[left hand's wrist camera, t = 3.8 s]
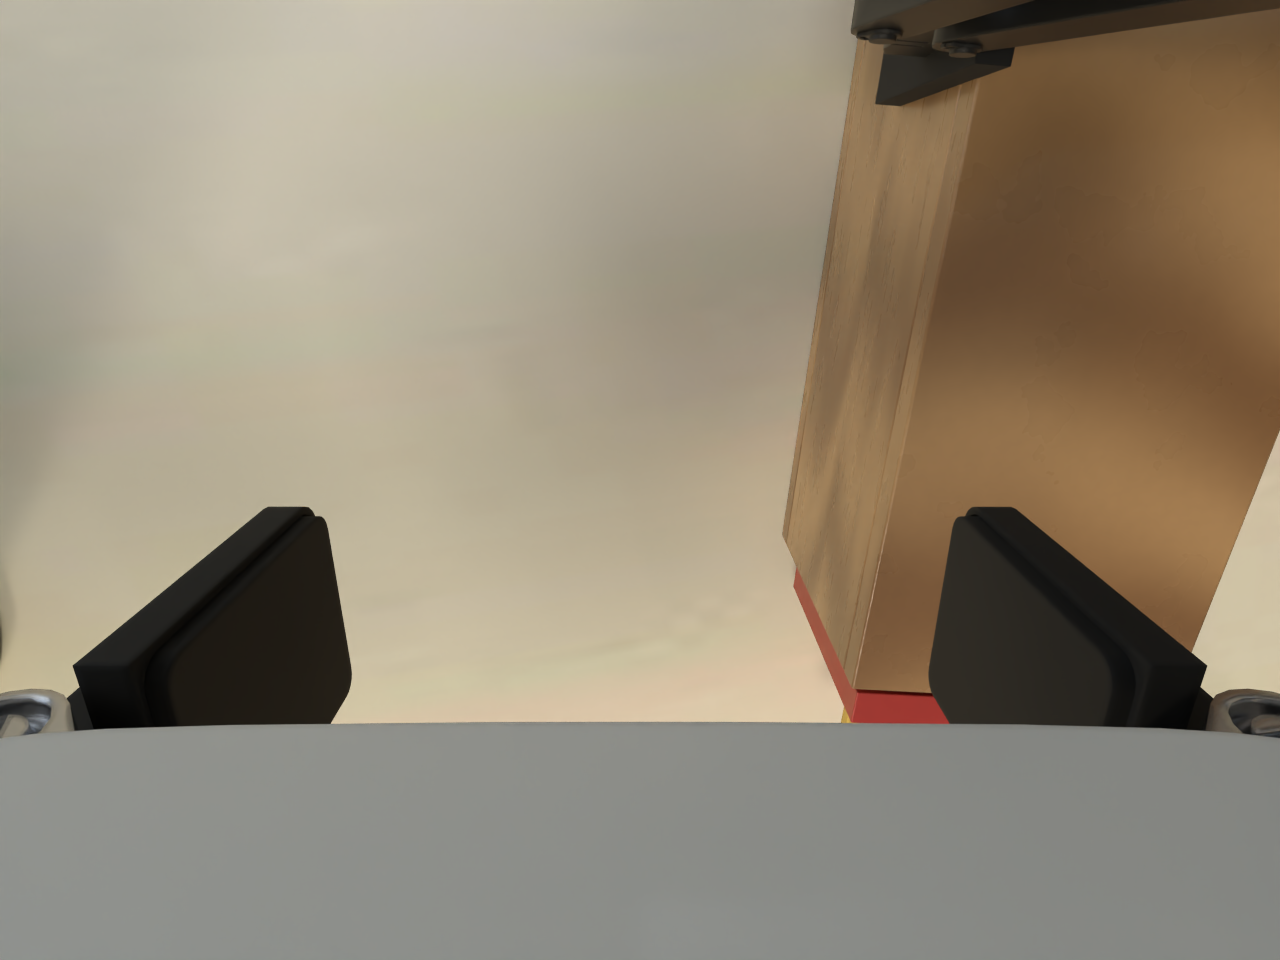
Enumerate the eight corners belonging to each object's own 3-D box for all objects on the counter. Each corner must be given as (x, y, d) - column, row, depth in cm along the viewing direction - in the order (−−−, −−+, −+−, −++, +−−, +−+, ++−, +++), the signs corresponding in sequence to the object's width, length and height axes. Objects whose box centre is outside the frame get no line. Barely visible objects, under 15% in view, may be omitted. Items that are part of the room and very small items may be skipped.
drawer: (961, 694, 34) (1069, 855, 26) (777, 684, 34) (825, 844, 26) (1125, 92, 25) (1372, 38, 17) (877, 72, 25) (1001, 6, 17)
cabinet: (1002, 548, 33) (1171, 706, 22) (781, 535, 32) (851, 689, 22) (1153, -7, 25) (1512, -152, 15) (868, -32, 25) (1034, -197, 15)
